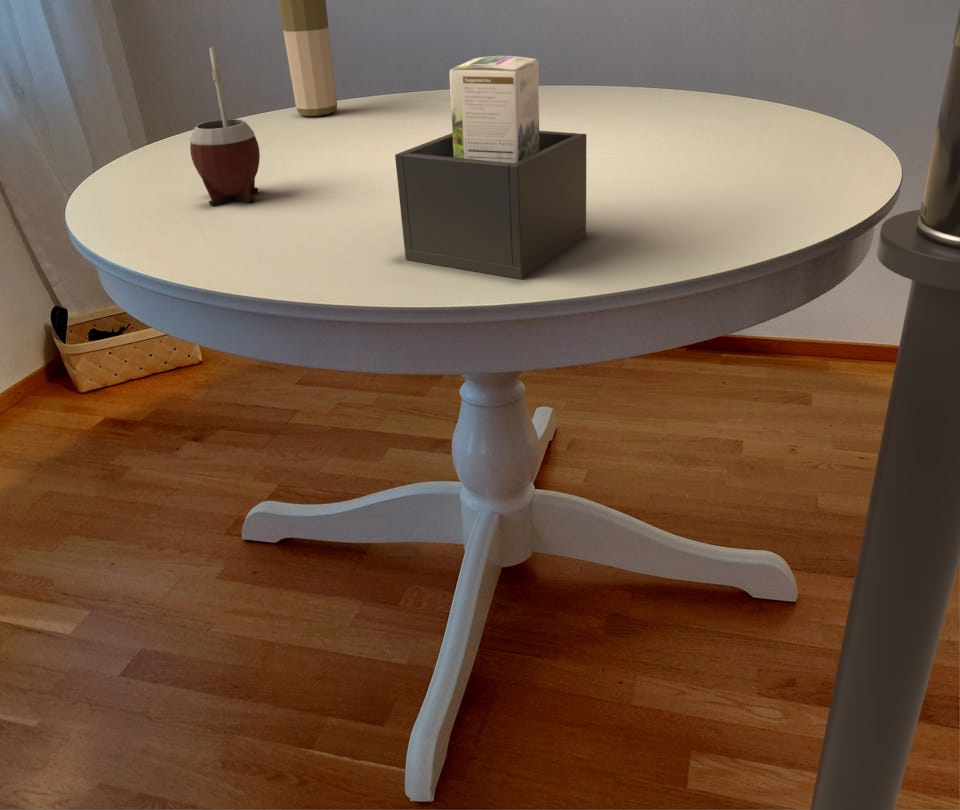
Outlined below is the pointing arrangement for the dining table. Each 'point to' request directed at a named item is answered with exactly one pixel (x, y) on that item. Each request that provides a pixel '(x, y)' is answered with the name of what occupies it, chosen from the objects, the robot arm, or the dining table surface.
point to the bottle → (309, 55)
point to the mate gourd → (225, 153)
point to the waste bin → (493, 205)
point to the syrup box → (495, 108)
